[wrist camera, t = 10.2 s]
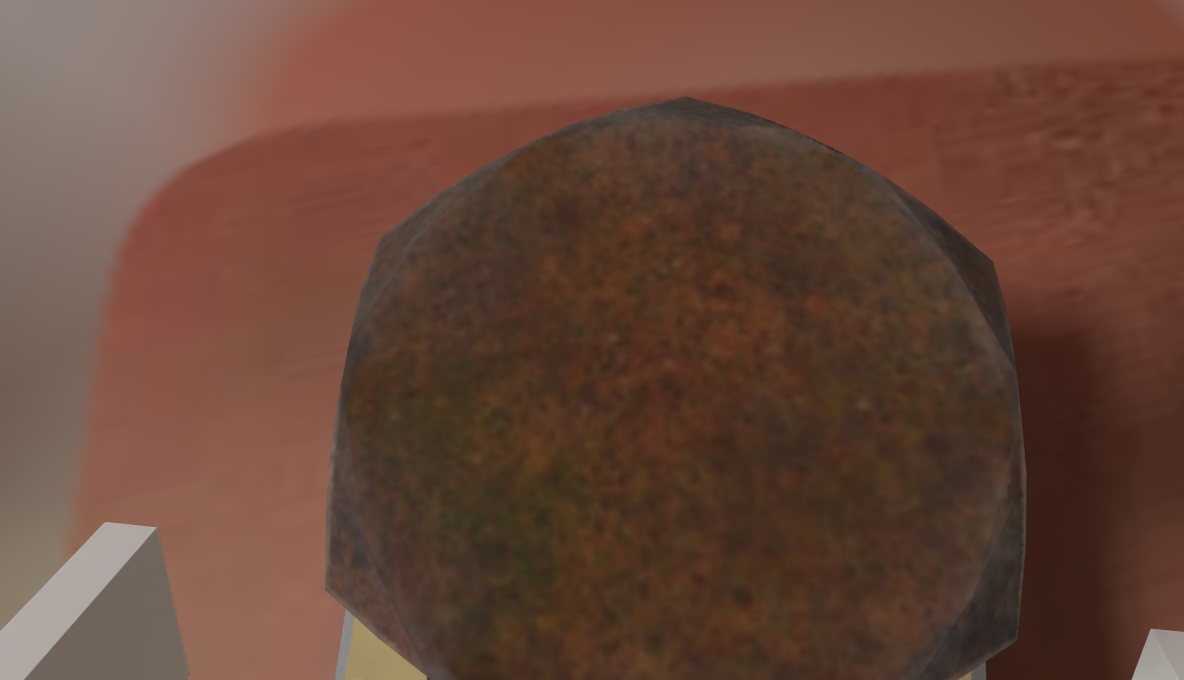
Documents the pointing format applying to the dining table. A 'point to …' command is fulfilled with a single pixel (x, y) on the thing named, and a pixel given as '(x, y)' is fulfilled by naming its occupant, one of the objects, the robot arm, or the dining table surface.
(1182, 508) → the dining table surface
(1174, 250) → the dining table surface
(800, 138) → the bolt
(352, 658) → the mount
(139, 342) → the dining table surface
